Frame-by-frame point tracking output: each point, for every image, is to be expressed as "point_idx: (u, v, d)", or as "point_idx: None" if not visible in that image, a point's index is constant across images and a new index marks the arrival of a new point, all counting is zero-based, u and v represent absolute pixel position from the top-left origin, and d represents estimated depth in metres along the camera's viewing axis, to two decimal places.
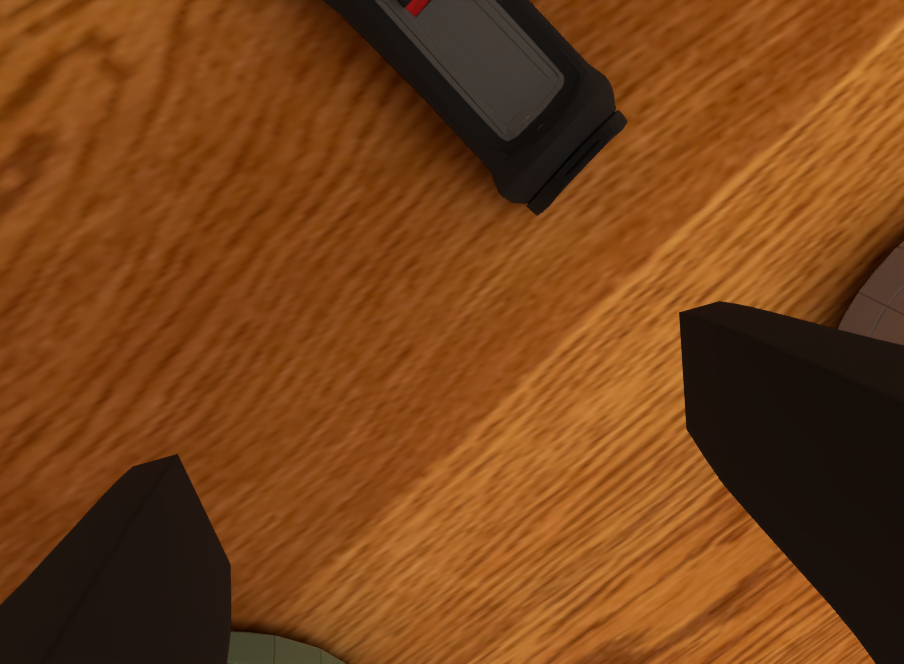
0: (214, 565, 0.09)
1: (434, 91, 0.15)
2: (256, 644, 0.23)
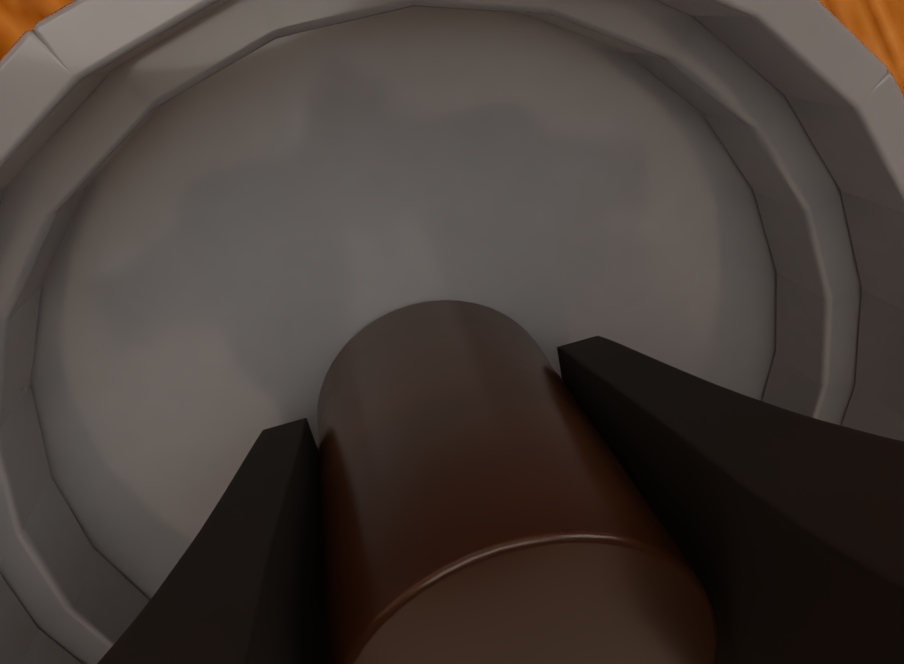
0: None
1: None
2: None
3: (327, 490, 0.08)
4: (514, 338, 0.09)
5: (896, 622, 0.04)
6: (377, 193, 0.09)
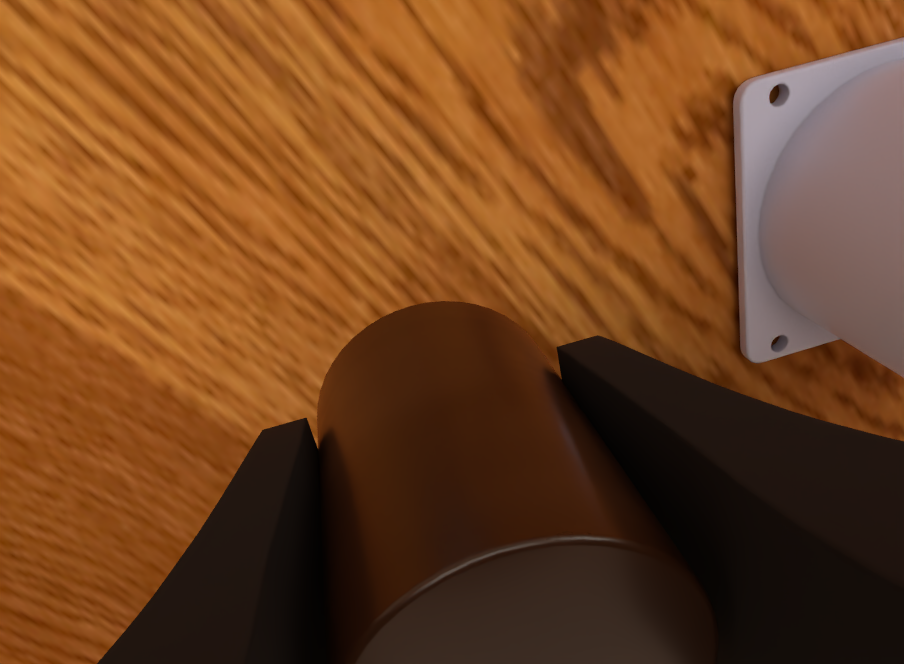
0: None
1: None
2: None
3: (327, 492, 0.08)
4: (514, 339, 0.09)
5: (896, 622, 0.04)
6: None
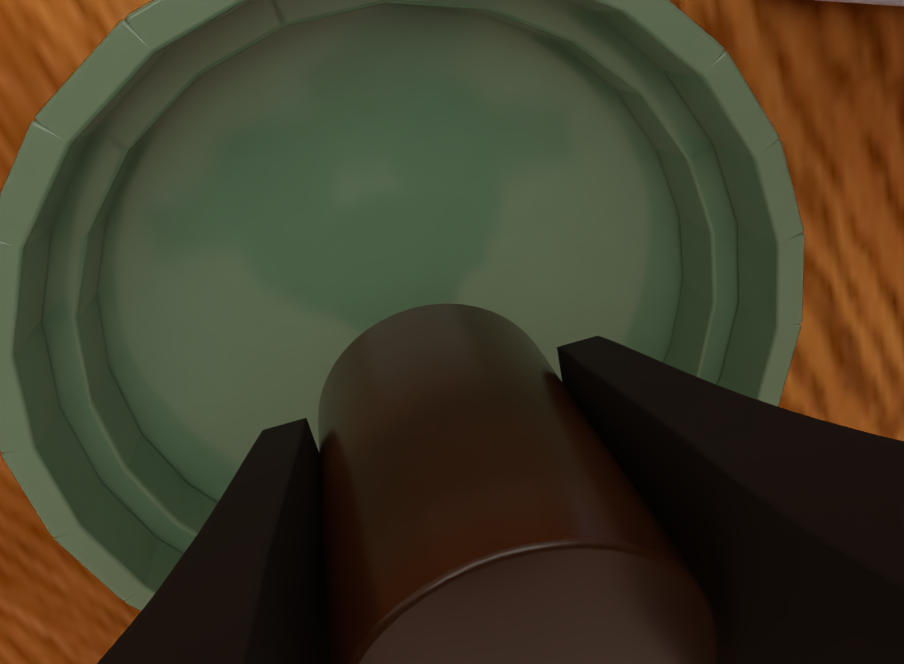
0: None
1: None
2: None
3: (328, 494, 0.08)
4: (515, 342, 0.09)
5: (896, 623, 0.04)
6: None
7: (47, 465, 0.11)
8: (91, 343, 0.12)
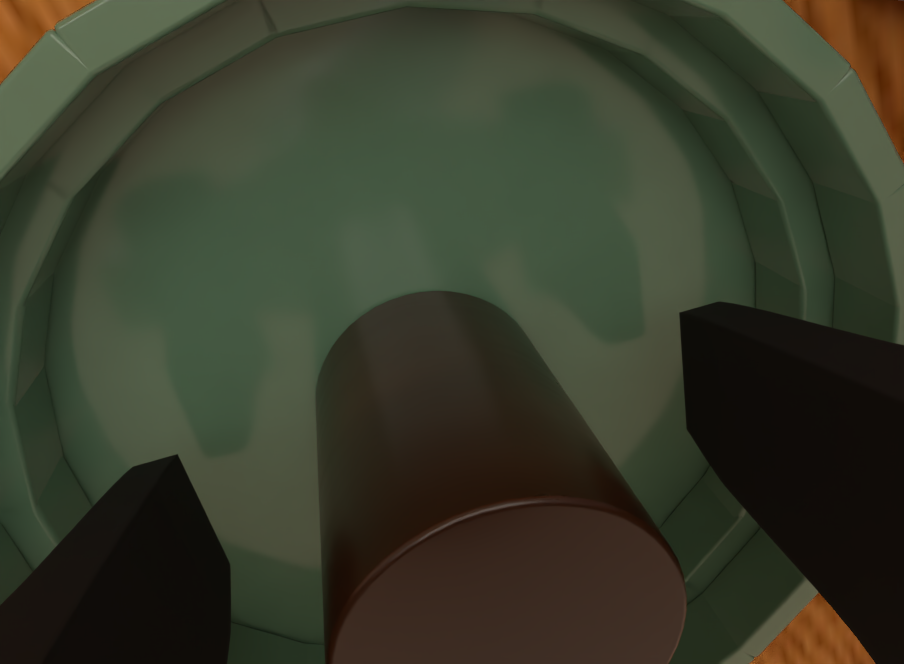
0: (213, 565, 0.09)
1: None
2: None
3: (324, 467, 0.08)
4: (502, 326, 0.10)
5: None
6: None
7: None
8: (35, 432, 0.09)
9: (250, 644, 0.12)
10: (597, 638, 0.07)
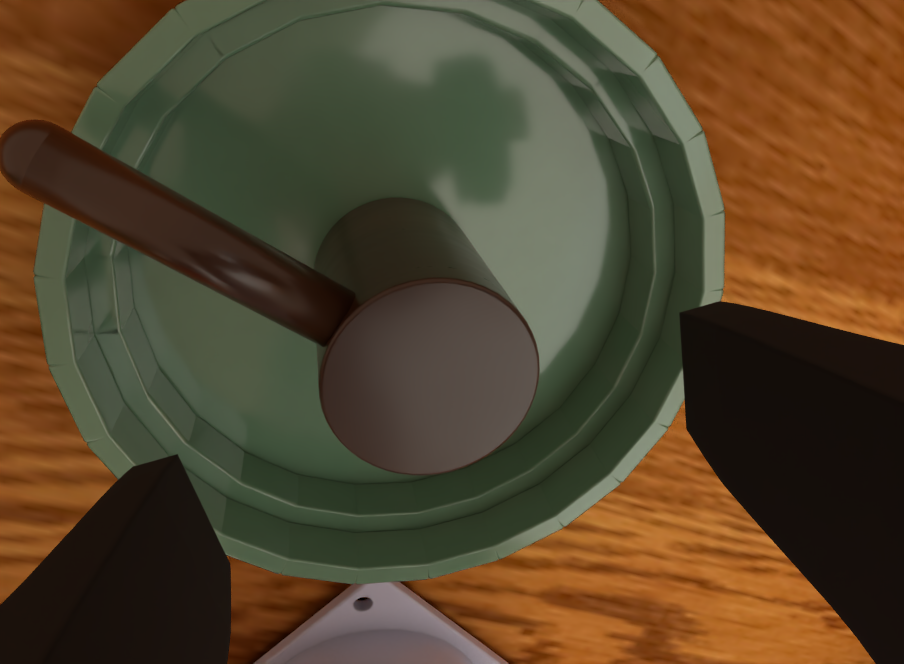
0: (214, 565, 0.09)
1: None
2: None
3: None
4: None
5: None
6: None
7: (621, 61, 0.12)
8: (605, 120, 0.14)
9: None
10: (396, 418, 0.11)
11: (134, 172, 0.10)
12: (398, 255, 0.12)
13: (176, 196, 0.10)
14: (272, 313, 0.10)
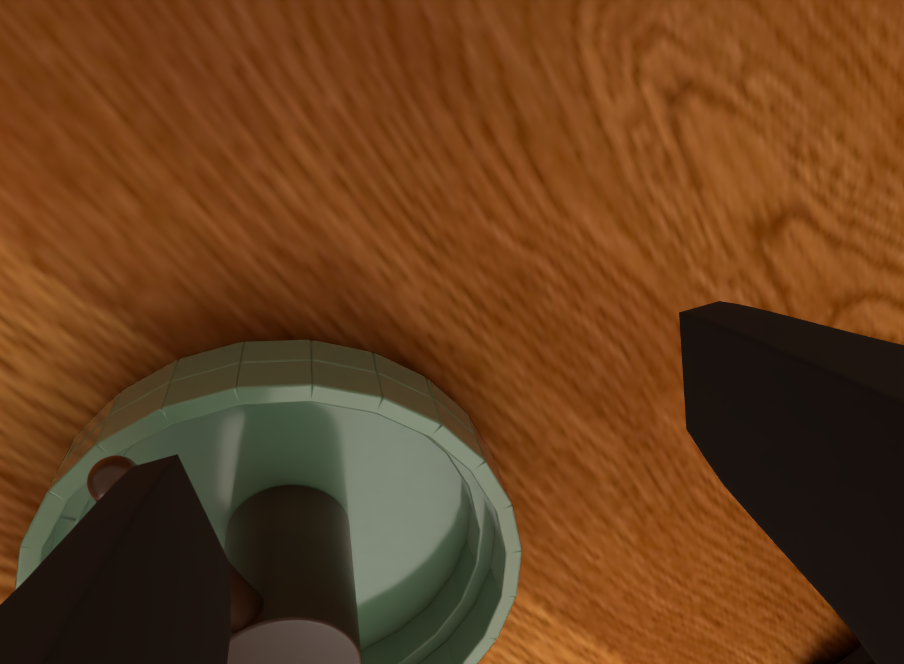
0: (214, 565, 0.09)
1: None
2: None
3: None
4: None
5: None
6: None
7: (489, 499, 0.19)
8: (470, 501, 0.21)
9: None
10: None
11: None
12: (301, 578, 0.17)
13: None
14: None
